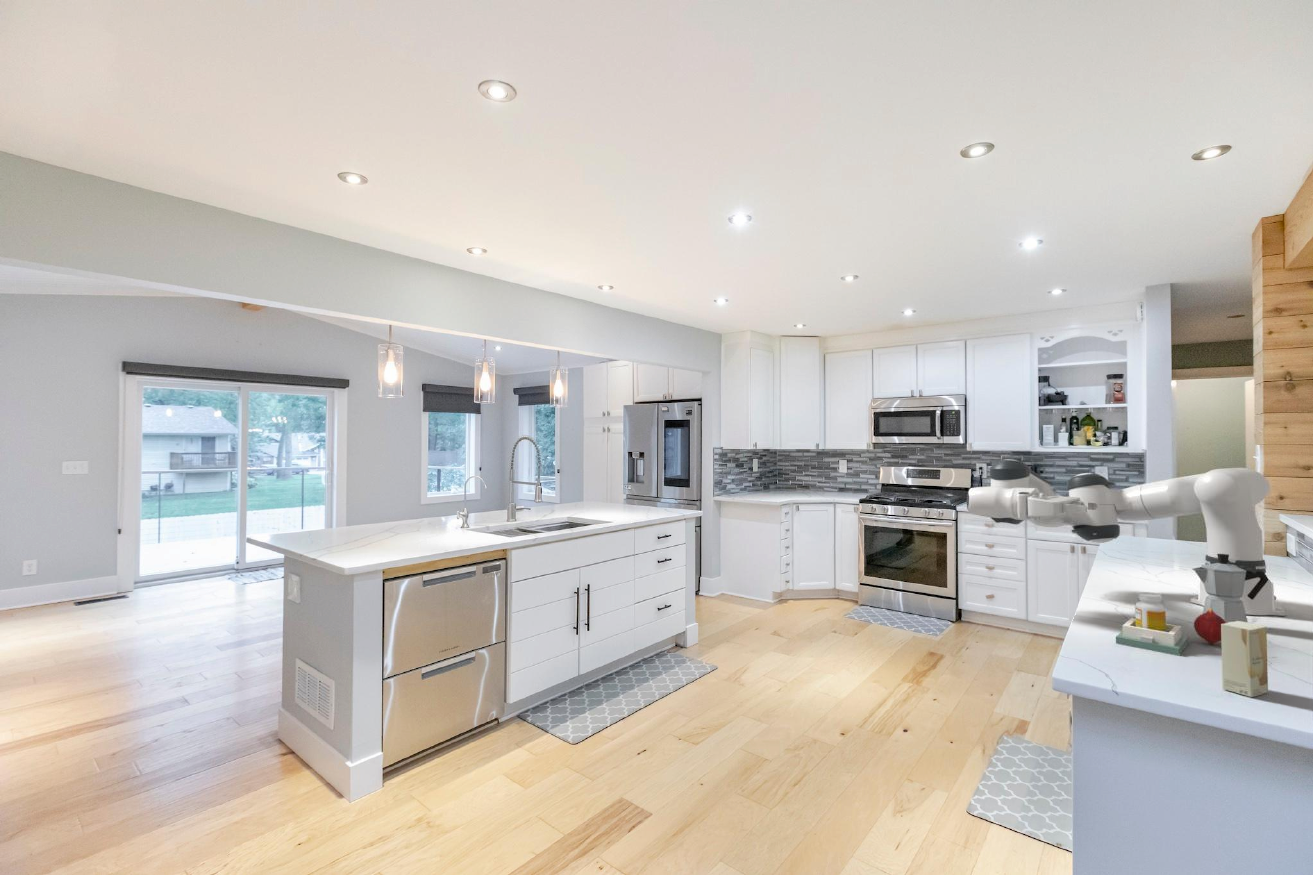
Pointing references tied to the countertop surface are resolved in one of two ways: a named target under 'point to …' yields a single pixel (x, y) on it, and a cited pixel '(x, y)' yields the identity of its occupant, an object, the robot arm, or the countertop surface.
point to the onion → (1209, 626)
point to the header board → (1153, 638)
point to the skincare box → (1244, 658)
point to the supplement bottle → (1150, 612)
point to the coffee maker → (1228, 587)
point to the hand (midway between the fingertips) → (1091, 507)
